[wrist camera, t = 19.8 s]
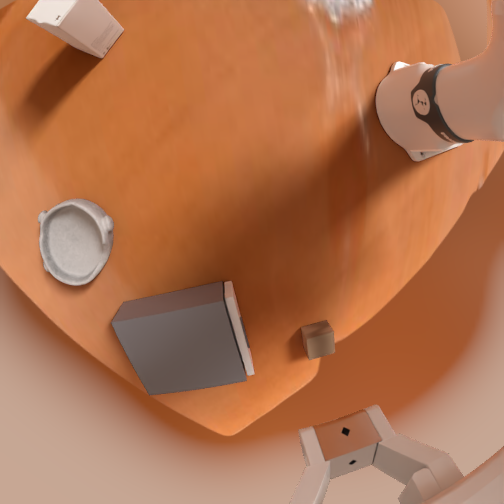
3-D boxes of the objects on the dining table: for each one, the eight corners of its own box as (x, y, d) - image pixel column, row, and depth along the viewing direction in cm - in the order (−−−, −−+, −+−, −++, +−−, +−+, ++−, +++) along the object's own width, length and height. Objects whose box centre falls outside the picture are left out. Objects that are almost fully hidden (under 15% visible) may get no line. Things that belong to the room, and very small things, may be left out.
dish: (123, 204, 41) (111, 209, 36) (113, 284, 45) (103, 296, 40) (51, 189, 39) (35, 193, 34) (46, 264, 42) (33, 274, 38)
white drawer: (233, 280, 46) (235, 296, 41) (252, 353, 51) (256, 373, 46) (130, 302, 46) (121, 319, 40) (161, 370, 51) (157, 389, 45)
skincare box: (125, 30, 32) (91, -14, 17) (101, 62, 33) (56, 28, 18) (92, 18, 30) (54, -20, 15) (70, 48, 31) (23, 18, 16)
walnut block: (326, 320, 51) (333, 331, 47) (328, 340, 53) (335, 352, 49) (300, 327, 51) (306, 339, 47) (303, 347, 52) (309, 360, 49)
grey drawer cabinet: (222, 281, 46) (222, 300, 40) (243, 356, 52) (246, 380, 45) (123, 302, 46) (111, 322, 39) (155, 371, 51) (149, 395, 44)
